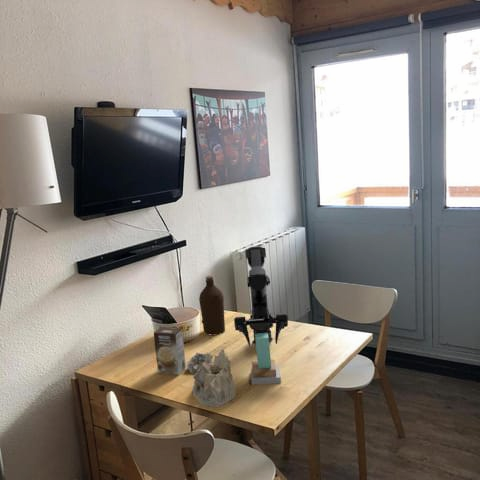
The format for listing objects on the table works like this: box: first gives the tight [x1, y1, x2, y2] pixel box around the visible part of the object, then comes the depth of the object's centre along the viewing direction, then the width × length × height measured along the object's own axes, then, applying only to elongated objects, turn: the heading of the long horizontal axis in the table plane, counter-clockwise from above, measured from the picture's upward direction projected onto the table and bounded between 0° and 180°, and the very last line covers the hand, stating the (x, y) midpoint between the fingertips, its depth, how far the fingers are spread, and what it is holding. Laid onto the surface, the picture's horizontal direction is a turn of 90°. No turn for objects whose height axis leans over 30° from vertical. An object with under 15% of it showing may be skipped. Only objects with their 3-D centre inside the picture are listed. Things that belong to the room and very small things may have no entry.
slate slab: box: [250, 364, 282, 386], centre depth 185 cm, size 10×10×2 cm
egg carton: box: [185, 352, 214, 373], centre depth 198 cm, size 11×8×4 cm
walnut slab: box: [251, 359, 276, 378], centre depth 184 cm, size 8×8×2 cm
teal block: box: [255, 333, 272, 369], centre depth 183 cm, size 4×4×11 cm
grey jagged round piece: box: [192, 347, 237, 408], centre depth 174 cm, size 16×16×15 cm
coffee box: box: [153, 326, 187, 376], centre depth 195 cm, size 9×6×16 cm
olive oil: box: [198, 275, 226, 336], centre depth 231 cm, size 11×11×25 cm
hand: (262, 344), depth 181 cm, fingers open, 9 cm apart
